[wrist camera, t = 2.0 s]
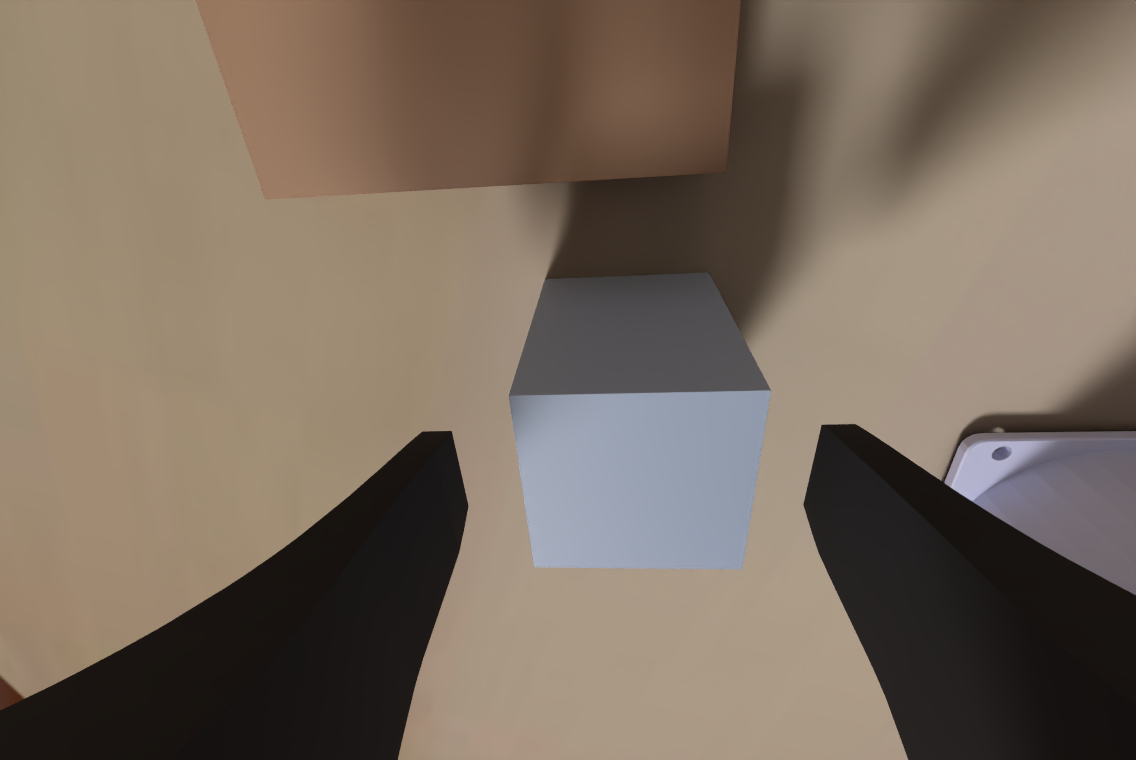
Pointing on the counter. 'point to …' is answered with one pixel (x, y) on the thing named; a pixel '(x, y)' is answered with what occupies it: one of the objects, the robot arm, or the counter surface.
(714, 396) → the block
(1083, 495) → the robot arm
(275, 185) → the base board
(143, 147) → the counter surface
